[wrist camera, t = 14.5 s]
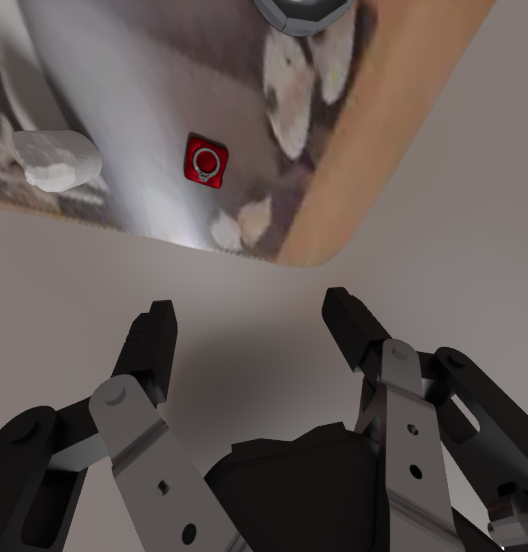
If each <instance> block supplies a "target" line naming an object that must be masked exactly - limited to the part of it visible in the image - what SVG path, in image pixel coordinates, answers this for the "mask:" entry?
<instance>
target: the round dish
mask: <svg viewBox="0 0 528 552" xmlns="http://www.w3.org/2000/svg"><path fill="white" fill-rule="evenodd" d="M252 1H253V3H254V5H255V6H256V8H257V10H258V11H259V13H260V14H261V15H262V16H263V17H264V19H265V20H266V21H267V22H268V23H269V24H270V25H271V26H272V27H274V28H275V29H277V30H278V31H280V32H282V33H284V34H286V35H289V36H293V37H307V36H312V35H313V36H314V35H315V34H317V33H319V32H321V31H322V30H324V29H325V28H327V27H328V26H329V25H331V24H332V23H333V22H334V21H336V20H337V19H339V18H340V17H342V16H343V15H344V14H345V13H346V12H348V11H349V9H350V8H351V6H352V5H353V3H354V1H355V0H252Z"/></svg>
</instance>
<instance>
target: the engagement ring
mask: <svg viewBox="0 0 528 552" xmlns="http://www.w3.org/2000/svg"><path fill="white" fill-rule="evenodd" d="M228 157H229V153H228V151H227V150H225V149H223V148H221V147H217V146H216V145H214V144H212V143H210V142H207V141H205V140H202V139H199V138H195V137H192V138H190V140H189V143H188V149H187V155H186V165H185V171H184V175H185V177H186V178H187V179H189V180H191V181H195V182H198V183H200V184H203V185H206V186H210V187H213V188H216V189H219V188H220V187H221V185H222V177H223V173H224V171H225V168H226V164H227V161H228Z"/></svg>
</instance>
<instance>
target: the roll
mask: <svg viewBox="0 0 528 552" xmlns="http://www.w3.org/2000/svg"><path fill="white" fill-rule="evenodd" d="M12 139H13V143H14V148H15V152H16V153H17V155H18V156H19V158H20V159H21V161H22V164H23V168H24V174H25V178H26V180H27V181H28V183H30V184H31V185H36V186H38V187H39V188H40V189H42V190H44V191H46V192H61V191H65V190H67V189H70V188H72V187H75V186H78V185H81V184H83V183H85V182H86V181H88V180H90V179H93V178H95V177H96V176H98V174H99V173H100V171H101V168H102V158H101V154H100V152H99V150H98V149H97V147H96V146H95V145H94V144H93V142H91V141H90V140H89V139H88V138H87V137H85V136H84V135H82V134H80V133H78V132H75V131H72V130H60V131H38V130H37V131H18V132H14V133H12Z"/></svg>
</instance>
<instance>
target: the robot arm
mask: <svg viewBox="0 0 528 552" xmlns="http://www.w3.org/2000/svg"><path fill="white" fill-rule="evenodd" d="M322 317H323V320H324V322H325V323H326V325H327V327H328V329H329V330H330V332H331V334H332V336H333V338H334V339H335V341H336V343H337V345H338V347H339V348H340V350H341V352H342V354H343V355H344V357H345V359H346V361H347V363H348V364H349V366H350V368H351V370H352V371H353V373H354V372H361V371H362V372H363V373H364V375H365V376H364V378H363V383H362V392H361V400H360V408H359V416H358V420H357V423H356V425H355V429H354V432H353V431H349V430H346V429H345V427H344V424H343V422H337V423H332V424H328V425H323V426H318V427H316V428H314V429H312V430H311V431H309V432H307V433H306V434H304V435H302V436H301V437H299V438H297V439H296V440H294V441H281V440H272V439H262V438H260V439H255V440H250V441H245V442H241V443H236V444H232V453H230V454H228V455H226V456H225V457H223V458H222V459H221V460H219V461H218V462H217V463H216V464H215V465H214V466H213V467H212V468H211V469H210V470H209V471H208V473H207V474H206V475H205V476H204V478H202V476H201V474H200V473H199V471H198V470H197V468H196V467H195V465H194V464H193V462H192V461H191V459H190V458H189V456H188V455H187V453H186V452H185V450H184V449H183V447H182V446H181V444H180V443H179V441H178V440H177V438H176V437H175V435H174V434H173V432H172V431H171V429H170V428H169V426H168V425H167V423H166V422H164V421H163V420H162V418H161V416H160V415H159V414H158V412H157V410H156V409H157V404H158V403H163V402H166V399H167V393H168V387H169V381H170V375H171V369H172V363H173V357H174V351H175V345H176V339H177V332H178V329H177V321H176V316H175V312H174V308H173V304H172V301H171V300H161V301H153V303H152V305H151V308H150V311H149V313H141V314H140V315H139V316H138V317H137V318H136V319H135V320H134V321H133V323H132V325H131V328H130V331H129V334H128V336H127V338H126V342H125V343H124V346H123V348H122V350H121V353H120V356H119V358H118V361H117V363H116V366H115V369H114V370H113V373H112V375H111V377H110V379H108V380H106V381H105V382H104V383H102V384H101V385H100V386H99V387H98V388H97V389H96V390H95V391H94V393H93V395H92V396H90V397H88V398H86V399H84V400H82V401H79V402H77V403H75V404H72V405H70V406H67V407H65V408H62V409H60V410H58V411H55V410H54V409H53V408H52V407H49V406H38V407H34V408H31V409H29V410H26V411H24V412H22V413H21V414H19V415H17V416H16V417H14V418H13V419H12V420H11V421H9V422H8V423H7V424H6V425H5V426H4V427H2V429H1V430H0V552H62V551H63V547H64V544H65V541H66V538H67V535H68V531H69V528H70V525H71V522H72V518H73V515H74V512H75V509H76V505H77V502H78V499H79V496H80V493H81V489H82V486H83V483H84V480H85V476H86V473H87V470H88V467H89V466H90V465H92V464H94V463H95V462H97V461H99V460H101V459H103V458H105V457H107V456H110V458H111V461H112V464H113V466H112V473H113V476H114V479H115V481H116V484H117V486H118V488H119V491H120V493H121V495H122V498H123V500H124V502H125V505H126V507H127V510H128V512H129V514H130V517H131V519H132V521H133V524H134V526H135V529H136V531H137V533H138V536H139V538H140V540H141V543H142V545H143V547H144V550H145V552H528V415H527V414H526V413H525V412H524V411H523V410H522V409H521V408H520V407H519V406H518V405H517V404H516V403H515V402H514V401H513V400H512V399H511V398H510V397H509V396H508V395H507V394H505V393H504V392H503V391H502V390H501V389H500V388H499V387H498V386H497V385H496V384H495V383H494V382H493V381H492V380H491V379H490V378H489V377H488V376H487V375H486V374H485V373H484V372H483V371H482V370H481V369H480V368H479V367H478V366H477V365H476V364H475V363H474V362H473V361H472V360H471V359H469V358H468V357H467V356H466V355H465V354H463V353H461V352H460V351H458V350H455V349H453V348H449V347H440V348H438V349H437V350H436V352H435V353H434V354H431V353H424V352H418V351H415V350H414V349H413V348H412V347H411V346H410V345H409V344H407V343H405V342H403V341H401V340H398V339H393V338H392V337H391V336H390V335H389V334H388V332H387V331H386V330H385V329H384V328H383V327H382V325H381V324H380V323H379V322H378V321H377V319H376V318H375V317H374V316H372V313H371V312H370V311H369V310H367V307H366V306H365V305H364V304H363V302H362V301H360V300H359V299H357V298H356V297H355V296H353V295H349V293H348V292H347V290H346V289H345V288H344V287H332V288H328V289H327V292H326V296H325V299H324V303H323V306H322ZM454 394H456V395H457V396H458V397H459V398H460V400H461V401H462V402H463V403H464V404H465V406H466V407H467V408H468V409H469V410H470V412H471V413H472V414H473V415H474V416H475V417H476V419H477V420H478V422H479V425H480V431H479V433H478V431H477V430H476V429H475V428H474V427H473V425H472V424H471V423H470V421H469V420H468V419H467V418H466V417H465V415H464V414H463V413H462V412H461V410H460V409H459V408H458V407H457V405H456V404H455V403H454V402H453V400H452V399H451V397H452V396H453V395H454ZM440 440H441V441H442V443H443V444H444V446H445V447H446V449H447V450H448V452H449V453H450V455H451V456H452V457H453V459H454V461H455V462H456V464H457V465H458V466H459V468H460V470H461V471H462V473H463V474H464V476H465V477H466V479H467V480H468V482H469V483H470V484H471V486H472V487H473V489H474V491H475V492H476V493H477V495H478V496H479V498H480V499H481V501H482V502H483V504H484V505H485V507H486V508H487V510H488V516H489V520H490V522H489V523H488V532H489V534H490V536H491V538H492V539H493V540H494V541H493V540H492V539H490V538H489V537H488V536H487V535H486V534H484V533H483V532H482V531H481V530H480V529H478V528H477V527H476V526H475V525H474V524H472V523H471V522H470V521H469V520H468V519H466V518H465V517H464V516H463V515H462V514H460V513H459V512H458V511H457V510H456V509H454V508H453V507H452V506H451V503H450V497H449V490H448V484H447V478H446V472H445V465H444V459H443V453H442V447H441V441H440Z"/></svg>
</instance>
